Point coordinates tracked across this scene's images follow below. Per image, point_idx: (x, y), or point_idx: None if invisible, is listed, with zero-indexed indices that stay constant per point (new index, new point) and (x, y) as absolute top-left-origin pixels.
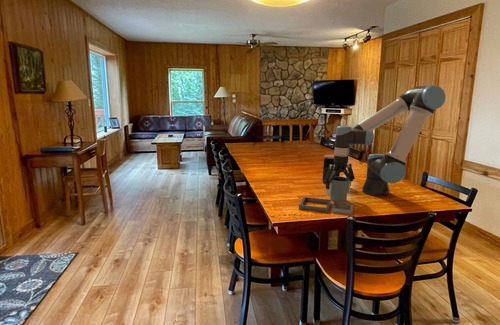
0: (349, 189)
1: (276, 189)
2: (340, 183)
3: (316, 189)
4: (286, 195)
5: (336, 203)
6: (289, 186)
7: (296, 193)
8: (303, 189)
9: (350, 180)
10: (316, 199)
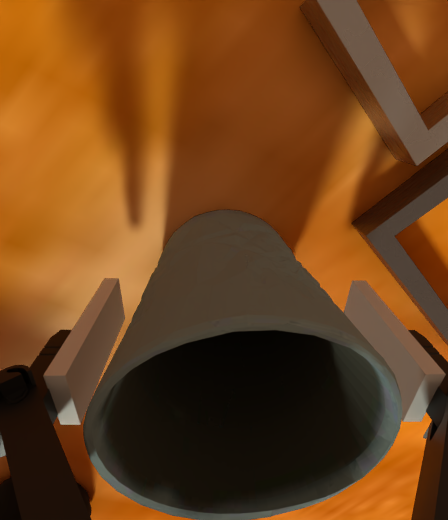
0: (101, 298)
1: (394, 491)
2: (346, 321)
3: None
4: None
5: (421, 128)
6: None
7: None
8: None
9: (39, 391)
10: (436, 295)
